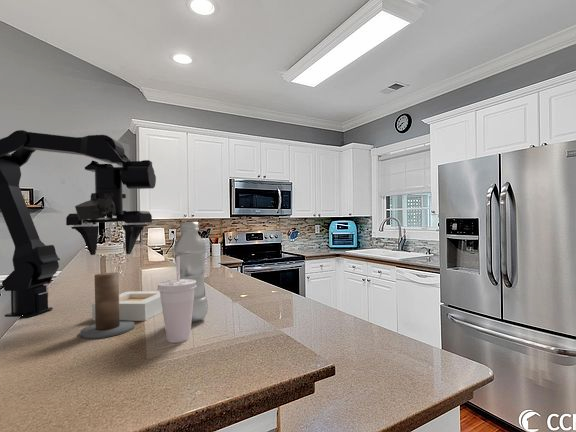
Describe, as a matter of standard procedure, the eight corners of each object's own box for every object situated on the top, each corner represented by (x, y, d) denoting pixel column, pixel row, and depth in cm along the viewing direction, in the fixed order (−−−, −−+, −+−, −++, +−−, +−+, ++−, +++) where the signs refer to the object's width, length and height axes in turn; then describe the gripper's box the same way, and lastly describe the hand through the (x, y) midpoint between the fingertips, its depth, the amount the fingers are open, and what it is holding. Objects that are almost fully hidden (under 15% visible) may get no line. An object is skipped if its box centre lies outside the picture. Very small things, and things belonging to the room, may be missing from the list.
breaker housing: (92, 320, 69) (92, 303, 69) (127, 305, 81) (126, 291, 81) (145, 320, 68) (145, 303, 68) (173, 305, 80) (172, 291, 80)
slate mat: (68, 338, 58) (68, 335, 58) (102, 322, 67) (102, 319, 67) (114, 338, 57) (114, 335, 57) (143, 322, 66) (143, 319, 66)
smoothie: (203, 332, 59) (201, 254, 59) (189, 345, 53) (186, 258, 53) (169, 332, 60) (167, 255, 60) (151, 345, 53) (149, 259, 54)
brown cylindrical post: (90, 330, 60) (89, 276, 61) (105, 323, 64) (104, 272, 65) (110, 330, 60) (109, 275, 60) (124, 323, 64) (123, 272, 64)
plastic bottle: (167, 324, 64) (164, 223, 65) (189, 315, 71) (187, 222, 71) (194, 327, 62) (191, 222, 62) (215, 317, 68) (212, 221, 69)
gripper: (45, 188, 72) (46, 259, 72) (124, 184, 70) (126, 257, 69) (83, 192, 83) (84, 254, 83) (152, 189, 81) (154, 252, 80)
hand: (110, 254), depth 79 cm, fingers open, 9 cm apart
